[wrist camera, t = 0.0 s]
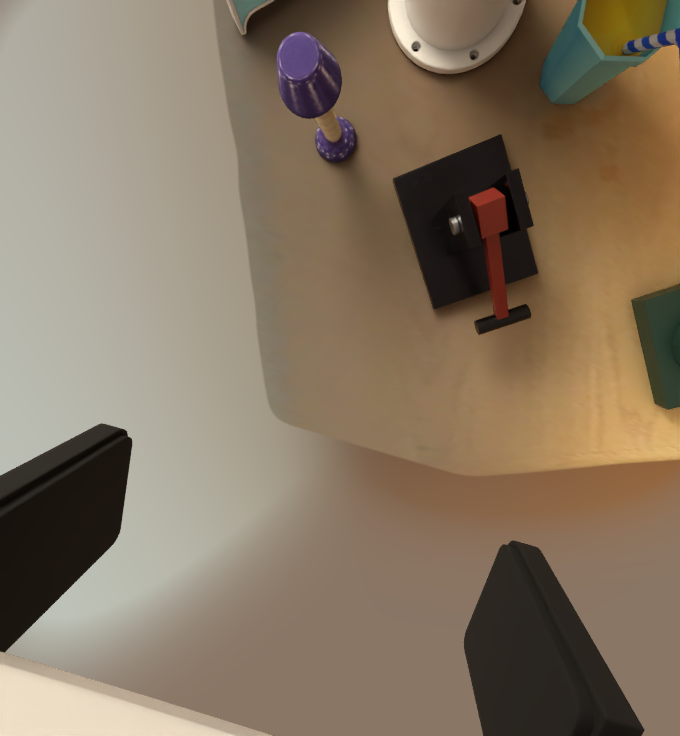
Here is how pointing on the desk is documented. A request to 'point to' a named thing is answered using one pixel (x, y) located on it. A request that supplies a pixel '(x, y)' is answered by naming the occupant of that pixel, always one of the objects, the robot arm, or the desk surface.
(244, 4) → the handheld gaming console
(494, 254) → the lever
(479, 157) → the bracket
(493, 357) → the desk surface
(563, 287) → the desk surface
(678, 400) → the control block
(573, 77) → the cup
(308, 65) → the toy lamp
